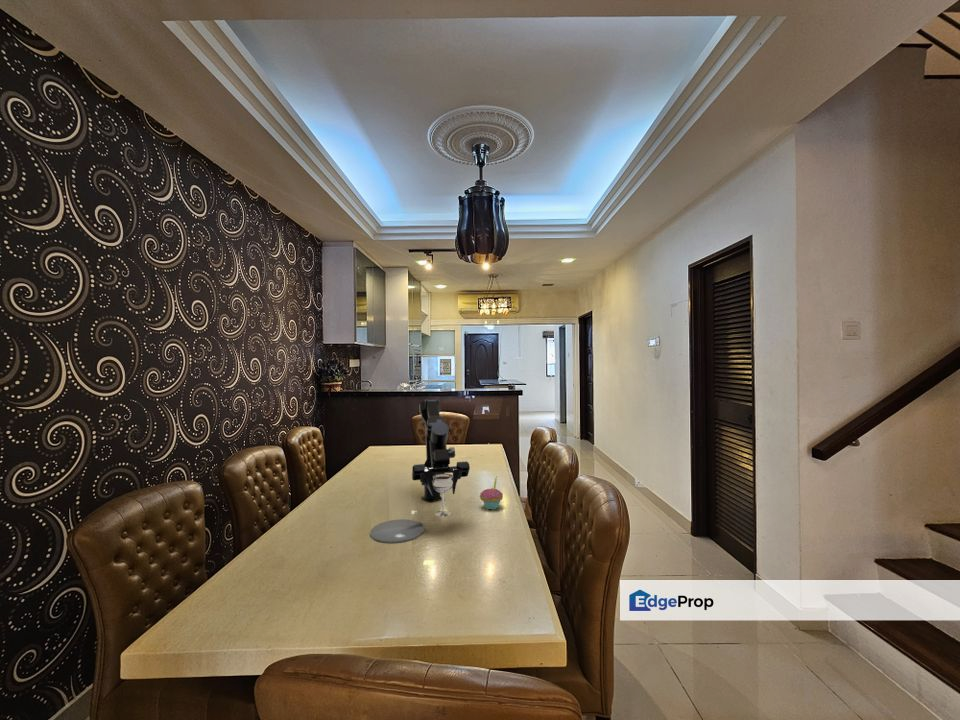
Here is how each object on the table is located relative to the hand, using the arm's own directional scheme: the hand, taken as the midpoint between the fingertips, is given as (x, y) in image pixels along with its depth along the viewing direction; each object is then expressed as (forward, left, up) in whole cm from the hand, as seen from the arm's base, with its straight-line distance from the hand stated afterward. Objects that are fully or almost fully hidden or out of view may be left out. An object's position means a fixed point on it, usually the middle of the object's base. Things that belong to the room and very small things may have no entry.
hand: (443, 494), depth 133 cm
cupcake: (-7, +27, -13) cm, 31 cm away
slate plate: (-12, -10, -13) cm, 20 cm away
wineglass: (-1, +1, -7) cm, 7 cm away
